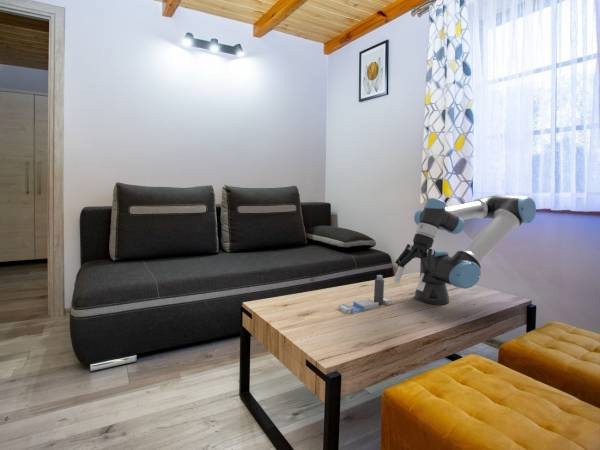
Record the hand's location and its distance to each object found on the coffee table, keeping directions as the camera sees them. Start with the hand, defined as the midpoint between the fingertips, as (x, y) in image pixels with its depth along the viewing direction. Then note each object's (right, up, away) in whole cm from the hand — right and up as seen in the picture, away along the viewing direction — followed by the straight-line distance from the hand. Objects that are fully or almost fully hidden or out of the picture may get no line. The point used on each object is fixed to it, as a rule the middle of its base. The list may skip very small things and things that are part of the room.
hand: (407, 285), depth 138 cm
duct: (-14, -11, +13) cm, 22 cm away
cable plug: (-8, -11, +17) cm, 22 cm away
